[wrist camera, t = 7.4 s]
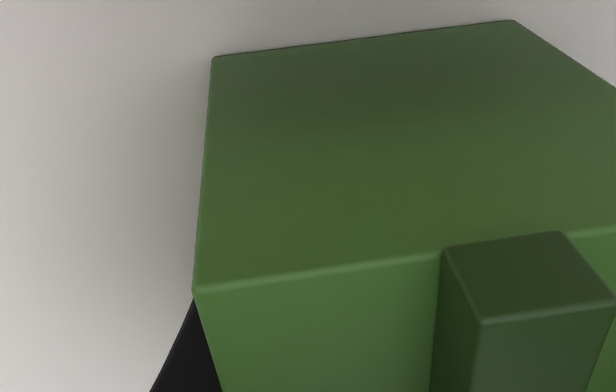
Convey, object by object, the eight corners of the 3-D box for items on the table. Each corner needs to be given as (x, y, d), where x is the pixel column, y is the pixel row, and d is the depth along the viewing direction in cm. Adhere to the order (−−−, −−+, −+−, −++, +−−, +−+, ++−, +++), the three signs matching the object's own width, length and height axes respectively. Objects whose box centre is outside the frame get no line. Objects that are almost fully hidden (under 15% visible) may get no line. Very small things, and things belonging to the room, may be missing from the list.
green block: (467, 337, 13) (605, 632, 8) (273, 368, 13) (298, 689, 8) (515, 11, 8) (902, 258, 4) (209, 49, 8) (177, 370, 3)
